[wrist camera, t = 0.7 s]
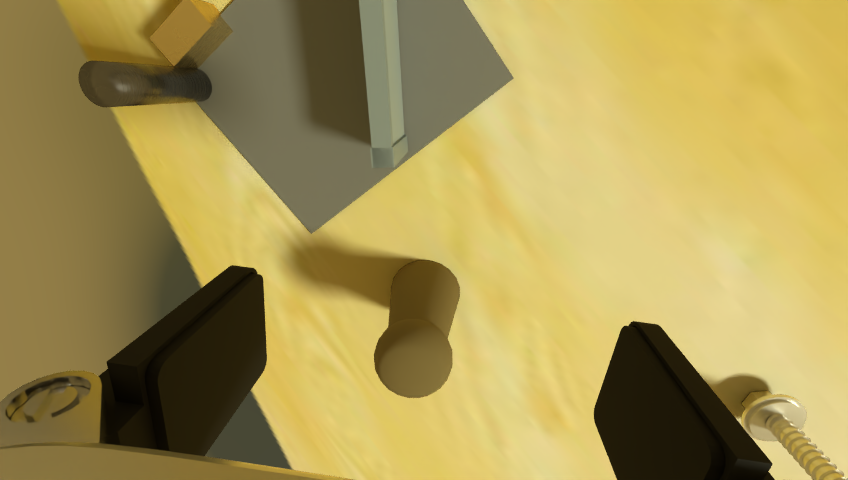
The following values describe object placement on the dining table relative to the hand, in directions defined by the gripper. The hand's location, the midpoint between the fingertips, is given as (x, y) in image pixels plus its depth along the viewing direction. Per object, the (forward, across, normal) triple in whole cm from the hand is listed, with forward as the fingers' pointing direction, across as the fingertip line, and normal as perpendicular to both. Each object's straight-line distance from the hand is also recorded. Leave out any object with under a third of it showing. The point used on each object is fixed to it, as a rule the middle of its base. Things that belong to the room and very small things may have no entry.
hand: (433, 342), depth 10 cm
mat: (+22, +9, -6) cm, 25 cm away
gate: (+22, +5, -8) cm, 24 cm away
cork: (+22, +1, +11) cm, 25 cm away
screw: (+22, -30, +17) cm, 41 cm away
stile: (+22, +19, -6) cm, 30 cm away
